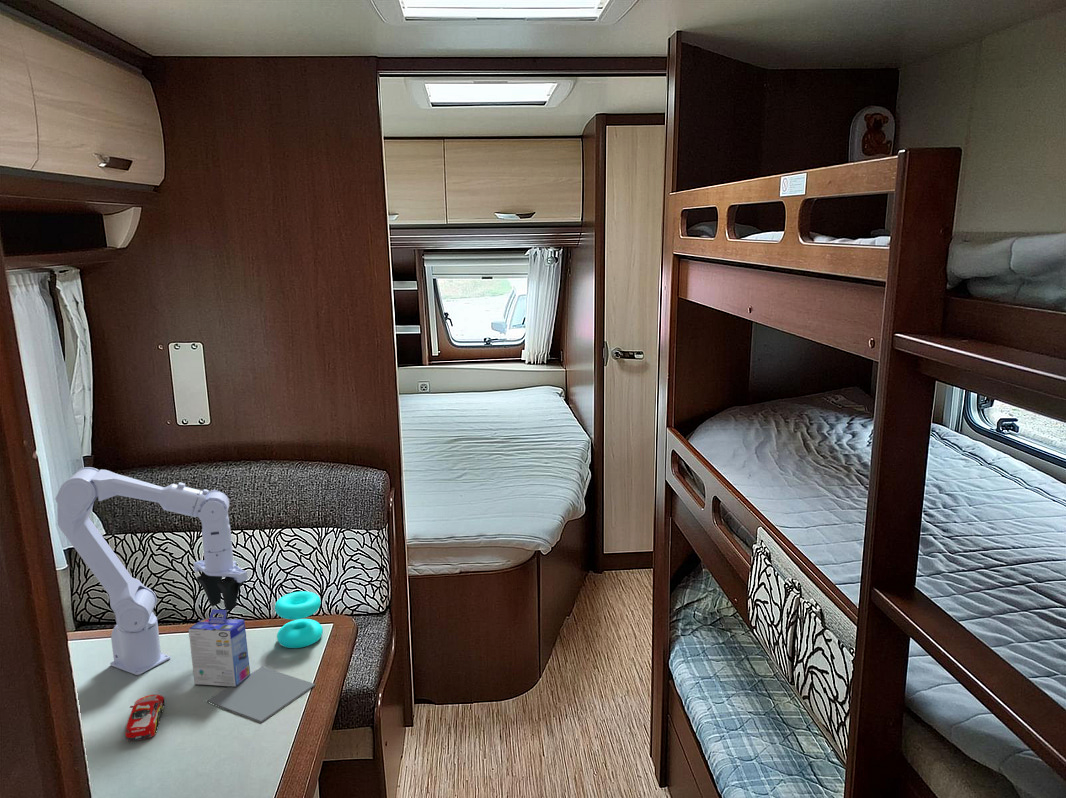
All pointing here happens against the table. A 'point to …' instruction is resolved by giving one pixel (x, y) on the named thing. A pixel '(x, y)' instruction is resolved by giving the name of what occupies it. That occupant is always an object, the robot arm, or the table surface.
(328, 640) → the table surface
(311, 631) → the donuts
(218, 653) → the ink cartridge box
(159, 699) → the race car
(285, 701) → the mat
